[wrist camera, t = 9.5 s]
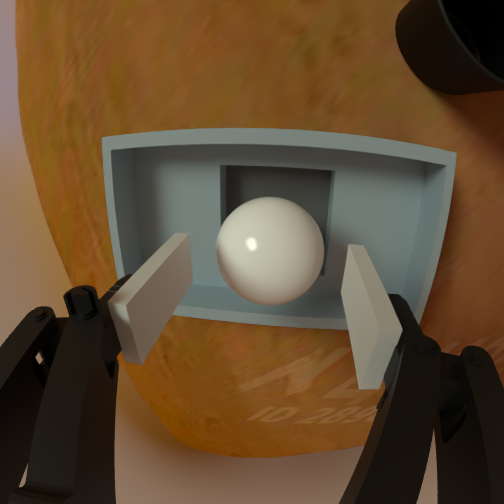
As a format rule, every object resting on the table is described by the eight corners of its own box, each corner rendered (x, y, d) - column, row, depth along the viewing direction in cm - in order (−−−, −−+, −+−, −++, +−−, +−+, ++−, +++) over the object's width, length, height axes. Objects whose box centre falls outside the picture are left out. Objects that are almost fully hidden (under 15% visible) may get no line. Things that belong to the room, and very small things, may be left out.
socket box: (140, 133, 24) (102, 137, 18) (422, 146, 21) (456, 152, 15) (151, 275, 29) (123, 307, 24) (397, 293, 26) (416, 330, 21)
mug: (504, 108, 18) (566, 112, 9) (400, 87, 19) (451, 70, 11) (491, 23, 14) (543, 3, 6) (385, -7, 16) (419, -54, 8)
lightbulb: (228, 191, 25) (182, 237, 15) (301, 166, 23) (307, 195, 13) (255, 258, 27) (231, 337, 17) (324, 237, 25) (341, 311, 15)
